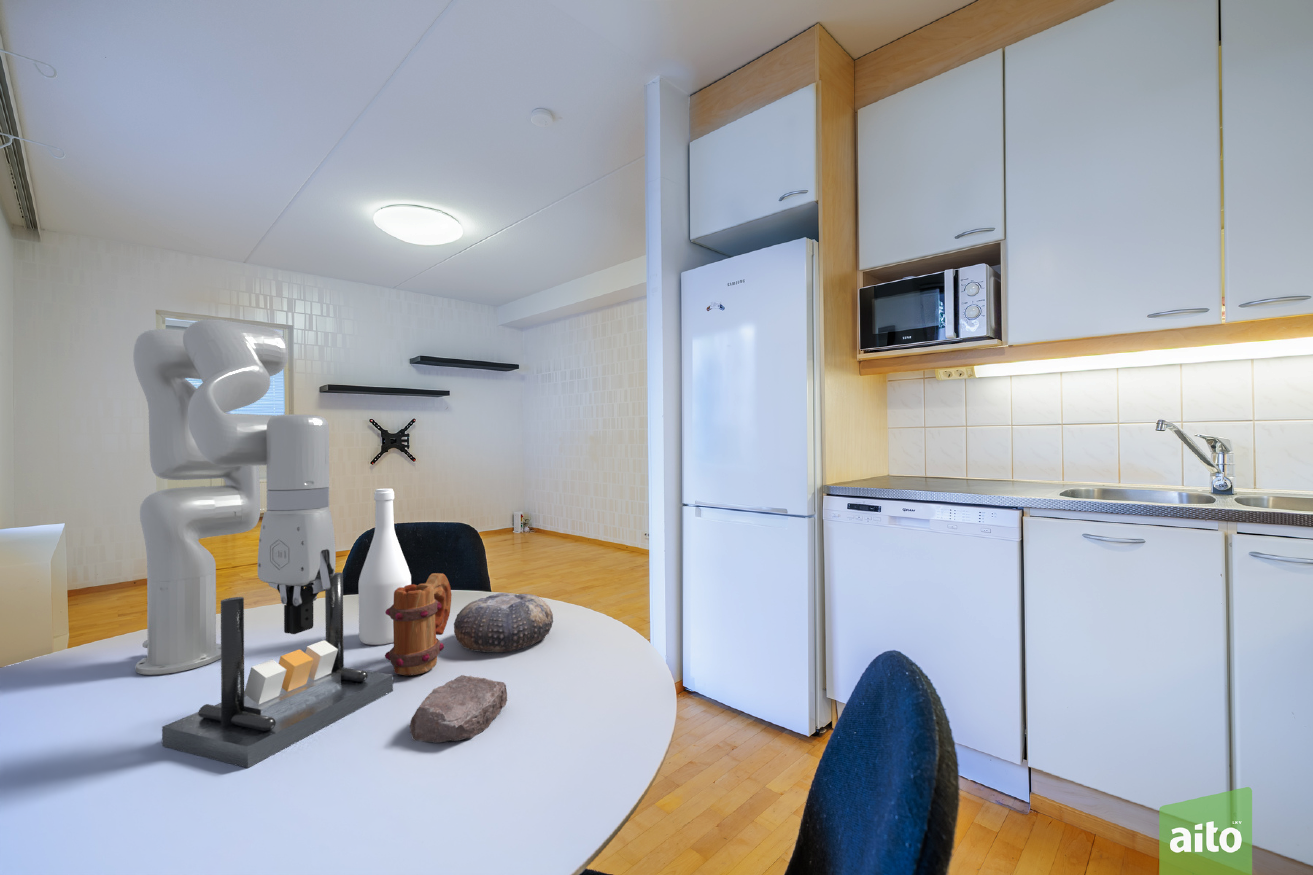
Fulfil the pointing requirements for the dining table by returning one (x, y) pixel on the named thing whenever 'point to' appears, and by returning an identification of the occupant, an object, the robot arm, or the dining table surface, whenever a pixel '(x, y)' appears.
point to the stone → (458, 709)
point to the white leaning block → (321, 659)
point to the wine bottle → (381, 575)
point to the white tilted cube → (265, 681)
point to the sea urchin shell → (503, 622)
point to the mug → (419, 624)
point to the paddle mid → (295, 669)
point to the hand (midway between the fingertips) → (299, 630)
